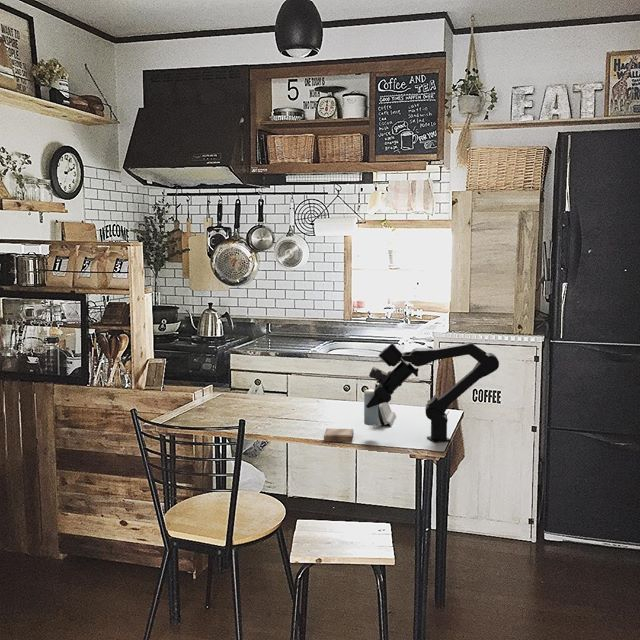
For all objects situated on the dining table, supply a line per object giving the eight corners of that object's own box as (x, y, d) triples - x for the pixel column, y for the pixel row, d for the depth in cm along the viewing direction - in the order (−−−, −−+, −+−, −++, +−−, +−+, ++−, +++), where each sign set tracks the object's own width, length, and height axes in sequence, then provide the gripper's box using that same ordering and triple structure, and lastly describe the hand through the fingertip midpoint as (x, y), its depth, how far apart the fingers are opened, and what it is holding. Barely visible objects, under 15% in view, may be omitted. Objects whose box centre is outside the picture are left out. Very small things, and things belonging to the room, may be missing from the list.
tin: (380, 424, 277) (380, 391, 276) (367, 425, 276) (367, 392, 274) (375, 421, 282) (375, 389, 281) (362, 422, 280) (362, 390, 279)
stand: (353, 434, 284) (353, 428, 284) (352, 441, 274) (352, 435, 274) (326, 433, 285) (326, 428, 285) (324, 441, 275) (324, 435, 275)
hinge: (391, 426, 295) (382, 402, 295) (379, 430, 296) (371, 406, 296) (396, 416, 311) (388, 393, 311) (385, 419, 312) (377, 396, 312)
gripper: (383, 355, 285) (353, 384, 287) (381, 364, 266) (349, 395, 269) (404, 377, 285) (374, 405, 287) (404, 387, 266) (372, 417, 269)
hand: (367, 405), depth 278 cm, fingers closed on tin, 5 cm apart
